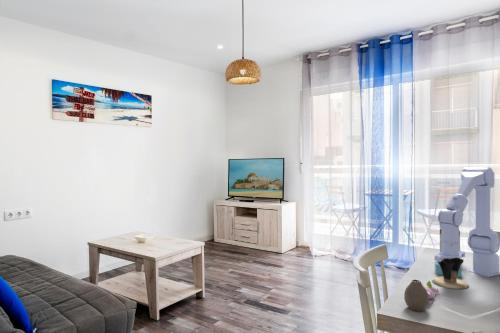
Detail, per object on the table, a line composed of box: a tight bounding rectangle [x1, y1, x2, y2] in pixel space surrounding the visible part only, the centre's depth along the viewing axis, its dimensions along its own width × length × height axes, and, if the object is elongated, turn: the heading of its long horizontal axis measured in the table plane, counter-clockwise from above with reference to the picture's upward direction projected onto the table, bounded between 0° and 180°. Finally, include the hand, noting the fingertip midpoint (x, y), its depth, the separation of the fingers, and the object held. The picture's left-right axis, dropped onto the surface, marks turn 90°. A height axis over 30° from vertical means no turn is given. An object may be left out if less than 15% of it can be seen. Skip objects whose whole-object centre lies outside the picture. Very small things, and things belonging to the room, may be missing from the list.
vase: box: [403, 279, 430, 312], centre depth 107 cm, size 7×7×9 cm
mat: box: [431, 279, 470, 291], centre depth 127 cm, size 12×12×1 cm
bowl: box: [434, 261, 463, 278], centre depth 139 cm, size 9×9×4 cm
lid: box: [432, 270, 469, 290], centre depth 127 cm, size 11×11×5 cm
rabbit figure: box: [424, 280, 441, 300], centre depth 116 cm, size 6×6×15 cm
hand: (450, 278), depth 127 cm, fingers closed on lid, 3 cm apart
